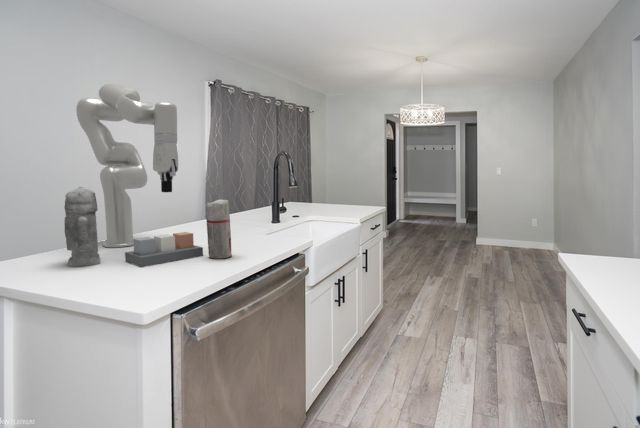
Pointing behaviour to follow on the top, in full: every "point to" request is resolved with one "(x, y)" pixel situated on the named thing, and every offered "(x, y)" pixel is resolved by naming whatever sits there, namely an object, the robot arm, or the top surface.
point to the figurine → (81, 227)
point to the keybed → (163, 256)
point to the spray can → (218, 229)
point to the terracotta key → (183, 240)
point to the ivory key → (165, 243)
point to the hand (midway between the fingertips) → (166, 191)
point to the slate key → (144, 246)
